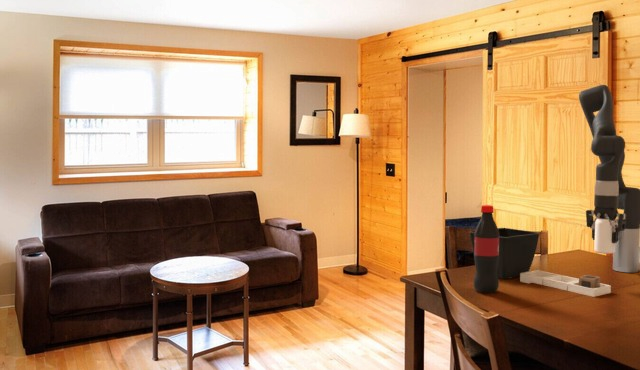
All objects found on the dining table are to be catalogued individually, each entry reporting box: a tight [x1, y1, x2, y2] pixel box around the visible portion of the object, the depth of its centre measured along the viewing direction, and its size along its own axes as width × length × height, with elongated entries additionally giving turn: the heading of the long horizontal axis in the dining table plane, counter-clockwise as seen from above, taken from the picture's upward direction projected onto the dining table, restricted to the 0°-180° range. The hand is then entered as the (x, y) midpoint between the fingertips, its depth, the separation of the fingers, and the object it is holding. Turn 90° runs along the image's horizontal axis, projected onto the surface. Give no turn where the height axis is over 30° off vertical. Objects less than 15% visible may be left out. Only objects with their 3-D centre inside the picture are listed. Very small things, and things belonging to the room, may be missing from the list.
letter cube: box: [578, 274, 601, 289], centre depth 208 cm, size 5×5×5 cm
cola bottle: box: [473, 204, 500, 294], centre depth 212 cm, size 8×8×30 cm
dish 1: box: [519, 269, 560, 286], centre depth 225 cm, size 10×10×3 cm
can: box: [593, 218, 615, 255], centre depth 213 cm, size 6×6×12 cm
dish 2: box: [542, 274, 579, 291], centre depth 217 cm, size 10×10×3 cm
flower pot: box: [469, 227, 540, 280], centre depth 238 cm, size 19×19×17 cm
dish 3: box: [567, 282, 612, 297], centre depth 208 cm, size 10×10×3 cm
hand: (604, 241), depth 214 cm, fingers closed on can, 6 cm apart
